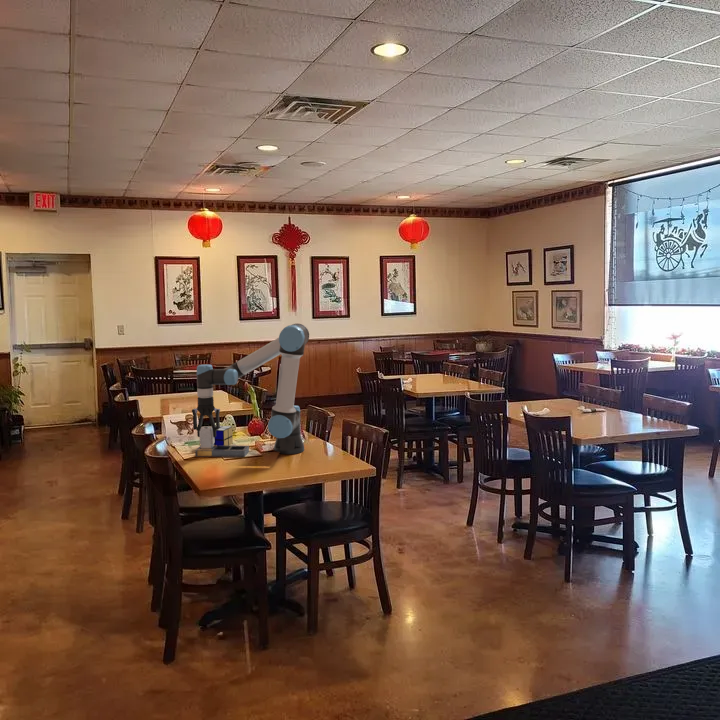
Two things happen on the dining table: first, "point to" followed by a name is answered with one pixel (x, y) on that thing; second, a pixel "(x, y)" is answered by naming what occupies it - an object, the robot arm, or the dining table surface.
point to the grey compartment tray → (223, 451)
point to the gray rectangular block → (206, 438)
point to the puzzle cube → (224, 436)
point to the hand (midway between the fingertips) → (207, 443)
